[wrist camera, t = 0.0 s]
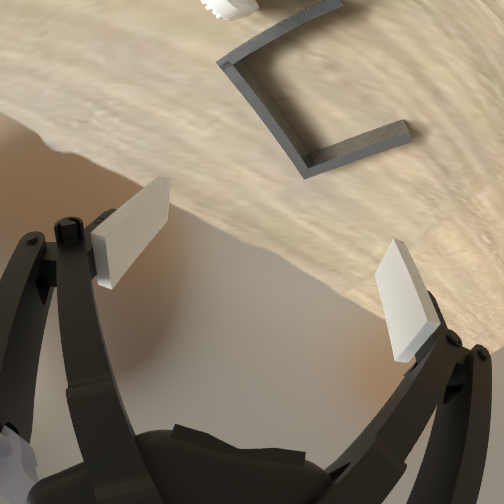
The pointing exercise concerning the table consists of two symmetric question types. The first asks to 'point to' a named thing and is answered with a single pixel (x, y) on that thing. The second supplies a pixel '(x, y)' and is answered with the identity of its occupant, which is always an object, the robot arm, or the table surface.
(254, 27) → the table surface
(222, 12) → the cable organizer
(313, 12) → the bracket
